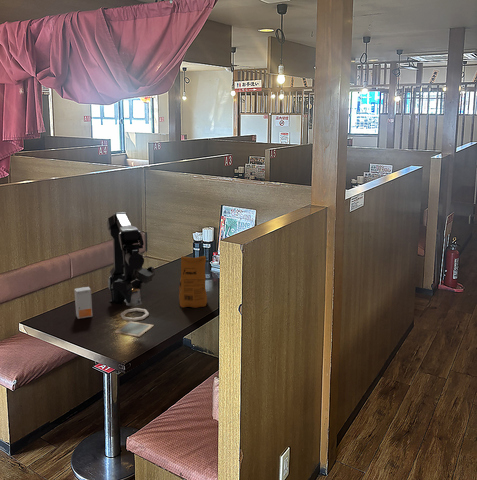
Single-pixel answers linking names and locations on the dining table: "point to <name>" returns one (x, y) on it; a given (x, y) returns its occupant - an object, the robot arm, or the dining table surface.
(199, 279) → the coffee package
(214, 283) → the dining table surface
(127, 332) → the coaster board
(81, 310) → the skincare box
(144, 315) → the collar
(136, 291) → the round spotlight head
